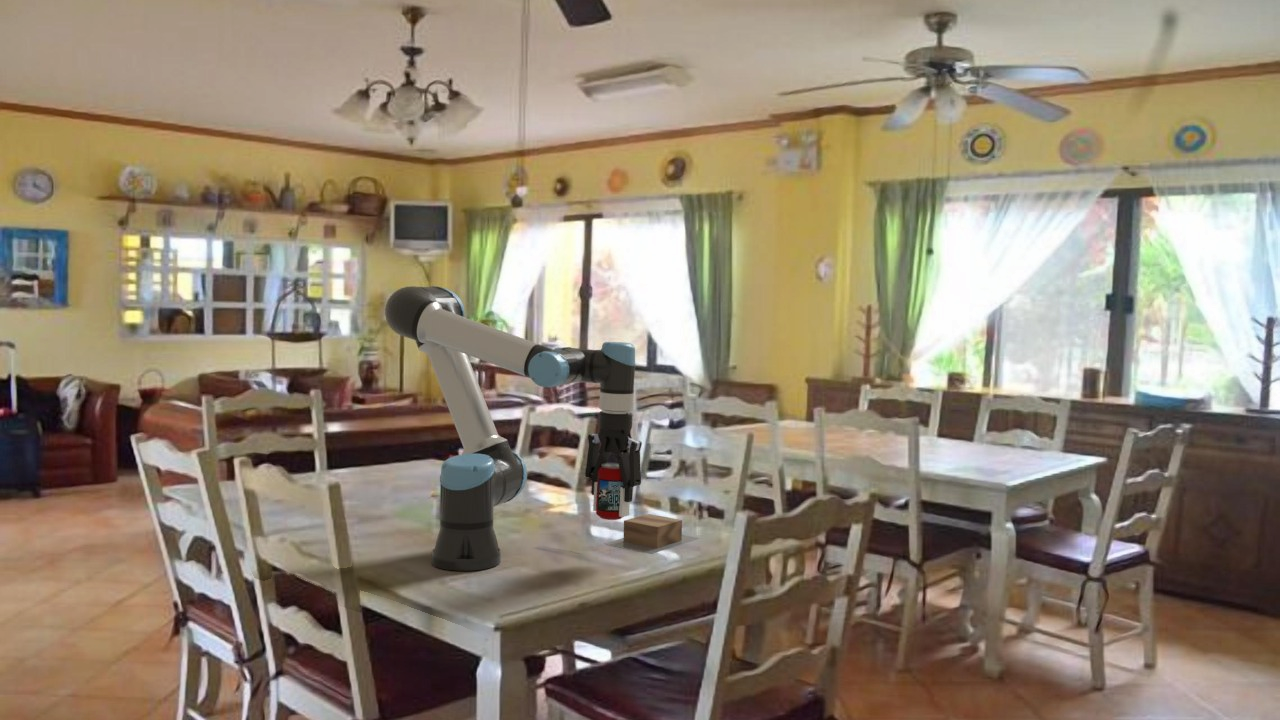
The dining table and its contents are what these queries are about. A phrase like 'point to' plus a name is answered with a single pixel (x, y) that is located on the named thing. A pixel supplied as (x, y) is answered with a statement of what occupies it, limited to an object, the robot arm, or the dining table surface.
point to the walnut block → (652, 530)
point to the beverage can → (609, 491)
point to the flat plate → (648, 549)
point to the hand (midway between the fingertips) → (611, 512)
